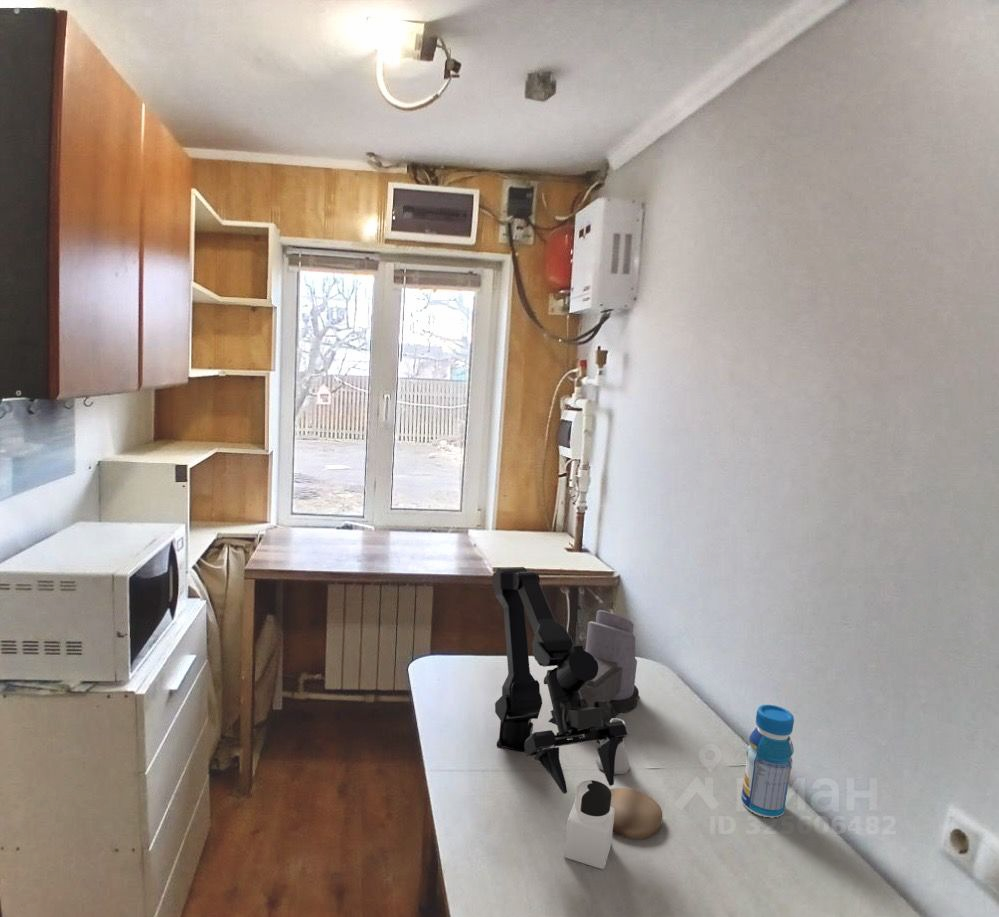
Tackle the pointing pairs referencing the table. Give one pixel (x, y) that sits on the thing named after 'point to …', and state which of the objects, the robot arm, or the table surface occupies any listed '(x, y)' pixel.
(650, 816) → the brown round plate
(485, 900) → the table surface
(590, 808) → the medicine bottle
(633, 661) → the juicer
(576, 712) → the robot arm
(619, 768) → the flask
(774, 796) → the beverage bottle
